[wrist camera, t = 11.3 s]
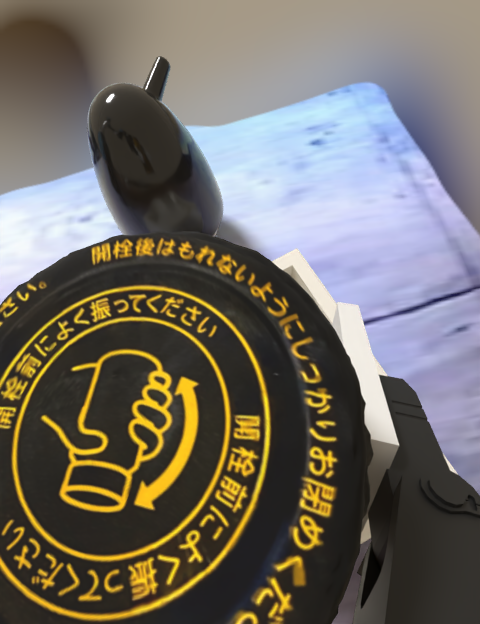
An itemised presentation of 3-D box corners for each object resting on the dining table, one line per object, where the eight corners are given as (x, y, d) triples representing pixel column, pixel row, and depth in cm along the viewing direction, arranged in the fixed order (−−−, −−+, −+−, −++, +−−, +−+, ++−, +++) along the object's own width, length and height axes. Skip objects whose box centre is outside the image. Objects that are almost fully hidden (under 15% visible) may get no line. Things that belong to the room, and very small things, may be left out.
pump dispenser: (246, 213, 33) (224, 54, 19) (197, 291, 30) (128, 175, 16) (171, 184, 35) (101, 26, 21) (120, 253, 33) (1, 126, 19)
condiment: (153, 394, 15) (-186, 312, 4) (296, 314, 16) (340, 52, 5) (217, 550, 13) (-257, 1535, 1) (385, 447, 13) (978, 573, 2)
